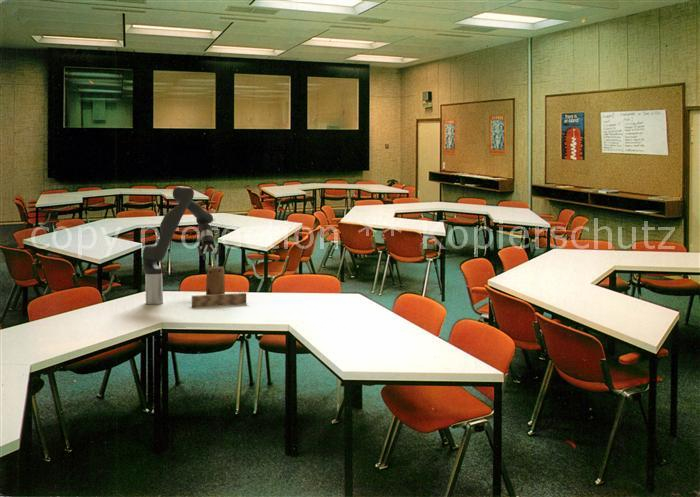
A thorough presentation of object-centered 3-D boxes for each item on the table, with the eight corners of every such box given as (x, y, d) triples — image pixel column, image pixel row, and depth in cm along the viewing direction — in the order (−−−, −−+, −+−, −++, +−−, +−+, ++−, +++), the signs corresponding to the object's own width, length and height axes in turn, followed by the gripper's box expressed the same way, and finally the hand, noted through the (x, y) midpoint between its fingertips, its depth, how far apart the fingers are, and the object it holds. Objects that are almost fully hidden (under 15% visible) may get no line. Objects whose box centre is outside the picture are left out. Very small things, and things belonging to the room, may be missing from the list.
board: (192, 307, 325) (192, 296, 324) (191, 306, 328) (191, 295, 327) (246, 303, 336) (246, 293, 335) (245, 302, 339) (245, 292, 338)
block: (225, 299, 349) (225, 266, 347) (224, 301, 342) (223, 267, 340) (207, 299, 348) (206, 266, 346) (205, 301, 341) (204, 267, 339)
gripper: (196, 234, 365) (198, 256, 355) (219, 234, 371) (222, 255, 361) (195, 242, 371) (197, 263, 361) (218, 242, 376) (221, 262, 366)
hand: (210, 259), depth 361 cm, fingers open, 5 cm apart
